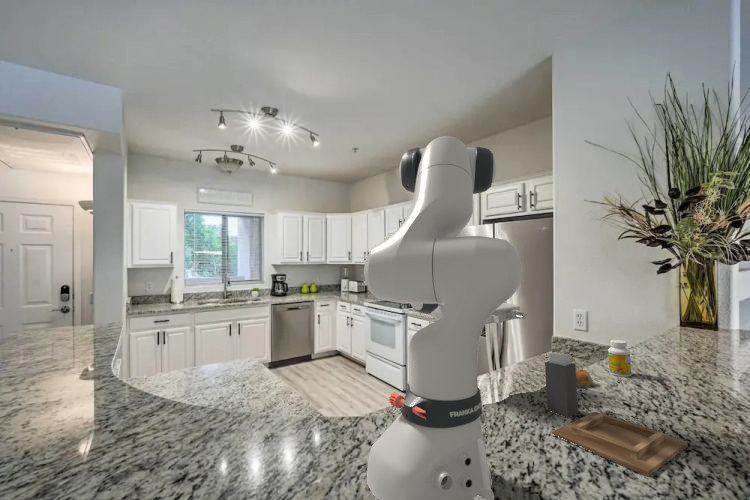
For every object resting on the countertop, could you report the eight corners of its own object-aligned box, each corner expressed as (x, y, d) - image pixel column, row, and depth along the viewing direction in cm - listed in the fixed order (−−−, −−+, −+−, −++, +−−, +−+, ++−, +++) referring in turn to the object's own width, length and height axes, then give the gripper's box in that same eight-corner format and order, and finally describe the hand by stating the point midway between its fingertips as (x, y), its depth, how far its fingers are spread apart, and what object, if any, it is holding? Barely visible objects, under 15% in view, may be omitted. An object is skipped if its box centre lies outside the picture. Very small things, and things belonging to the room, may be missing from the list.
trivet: (648, 476, 55) (647, 463, 55) (552, 435, 69) (551, 425, 69) (687, 446, 64) (687, 435, 64) (595, 415, 77) (594, 406, 77)
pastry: (567, 390, 93) (566, 376, 93) (548, 382, 99) (547, 369, 99) (596, 386, 95) (595, 372, 95) (575, 379, 102) (575, 365, 102)
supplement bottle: (605, 373, 105) (603, 340, 105) (616, 370, 107) (614, 338, 108) (624, 378, 100) (622, 344, 100) (635, 375, 102) (633, 341, 103)
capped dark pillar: (568, 418, 76) (564, 358, 77) (547, 410, 81) (544, 353, 81) (578, 413, 79) (575, 355, 79) (557, 406, 83) (554, 350, 83)
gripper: (445, 304, 97) (484, 309, 85) (495, 298, 108) (536, 302, 96) (446, 327, 97) (485, 335, 85) (496, 319, 108) (537, 325, 96)
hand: (512, 317), depth 91 cm, fingers open, 8 cm apart
